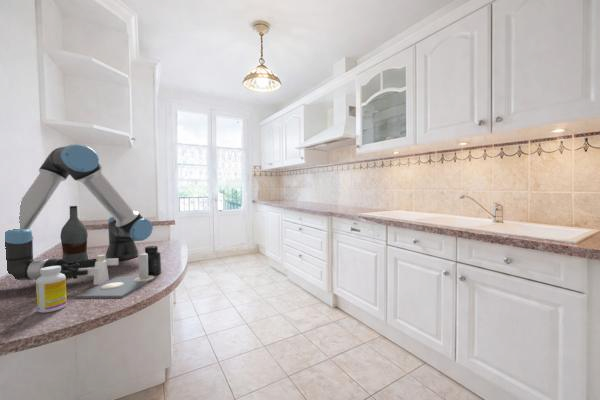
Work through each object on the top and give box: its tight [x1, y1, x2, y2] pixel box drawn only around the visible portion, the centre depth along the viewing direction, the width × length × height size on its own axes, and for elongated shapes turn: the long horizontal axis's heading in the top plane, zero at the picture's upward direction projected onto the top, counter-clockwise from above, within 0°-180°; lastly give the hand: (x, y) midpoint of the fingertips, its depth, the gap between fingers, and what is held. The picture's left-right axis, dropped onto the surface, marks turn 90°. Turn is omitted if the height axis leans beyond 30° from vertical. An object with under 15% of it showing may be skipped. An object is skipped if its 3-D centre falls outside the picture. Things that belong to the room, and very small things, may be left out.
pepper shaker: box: [92, 254, 110, 286], centre depth 103 cm, size 5×5×11 cm
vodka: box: [59, 205, 89, 271], centre depth 117 cm, size 9×9×30 cm
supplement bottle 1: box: [35, 266, 68, 314], centre depth 80 cm, size 7×7×13 cm
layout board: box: [75, 252, 157, 299], centre depth 98 cm, size 20×16×11 cm
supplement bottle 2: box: [144, 245, 162, 276], centre depth 114 cm, size 7×7×12 cm
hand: (109, 266), depth 103 cm, fingers open, 13 cm apart
